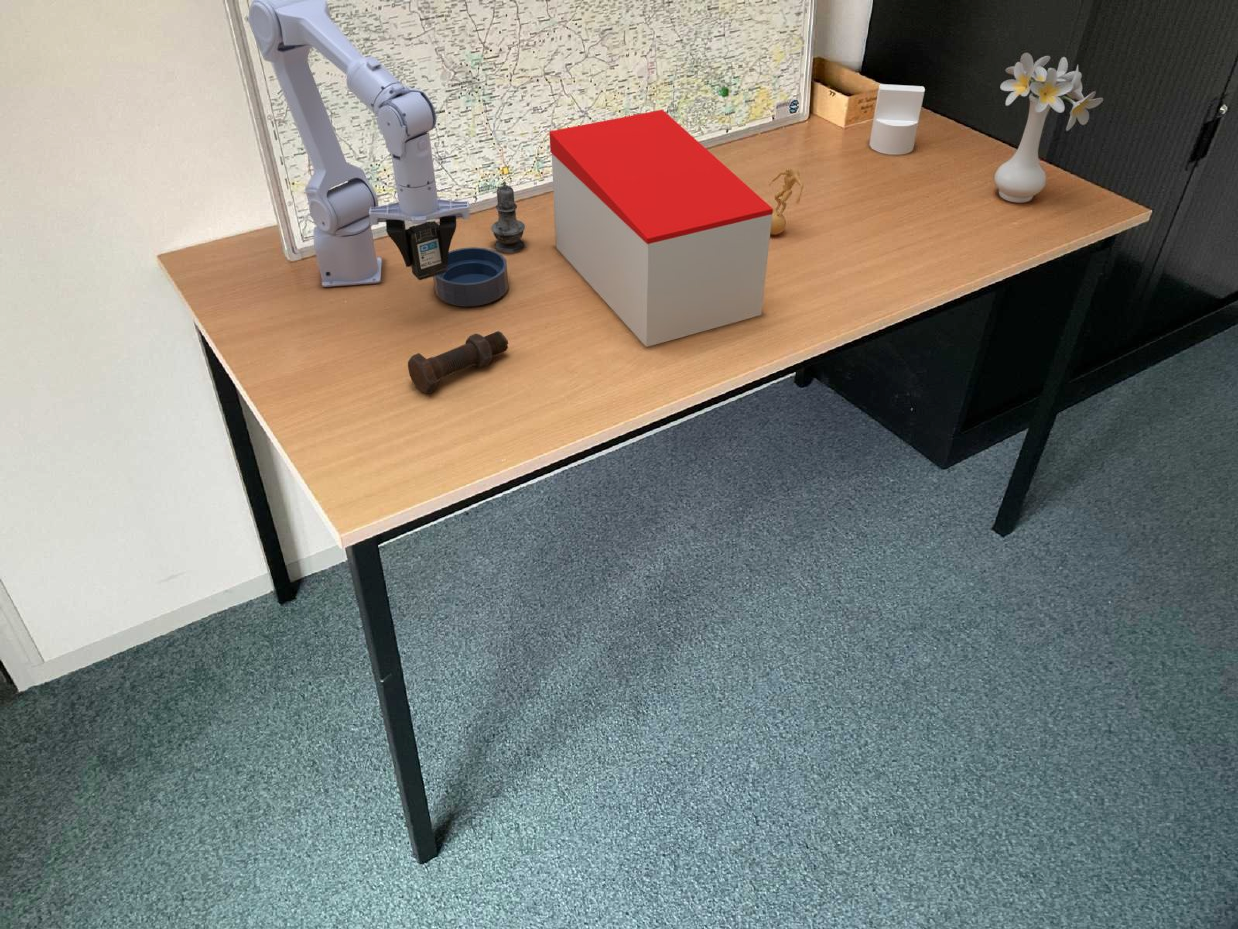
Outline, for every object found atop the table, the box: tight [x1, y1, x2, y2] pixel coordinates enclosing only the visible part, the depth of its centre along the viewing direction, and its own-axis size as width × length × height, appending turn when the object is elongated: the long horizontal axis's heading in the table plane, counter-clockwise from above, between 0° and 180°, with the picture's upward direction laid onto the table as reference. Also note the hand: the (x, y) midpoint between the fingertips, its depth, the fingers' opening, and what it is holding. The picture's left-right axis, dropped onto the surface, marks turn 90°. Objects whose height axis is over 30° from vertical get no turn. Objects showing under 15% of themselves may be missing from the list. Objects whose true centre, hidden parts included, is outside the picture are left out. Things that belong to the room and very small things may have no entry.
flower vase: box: [993, 52, 1104, 204], centre depth 182 cm, size 13×18×25 cm
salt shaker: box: [490, 181, 526, 254], centre depth 173 cm, size 6×6×12 cm
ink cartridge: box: [405, 220, 447, 281], centre depth 153 cm, size 5×2×8 cm, turn 123°
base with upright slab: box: [868, 83, 926, 156], centre depth 205 cm, size 9×9×12 cm
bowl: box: [432, 246, 509, 307], centre depth 164 cm, size 12×12×4 cm
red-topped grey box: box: [548, 109, 774, 348], centre depth 161 cm, size 21×35×21 cm, turn 26°
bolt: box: [407, 330, 509, 395], centre depth 147 cm, size 6×5×15 cm
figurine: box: [768, 167, 804, 236], centre depth 176 cm, size 8×6×12 cm
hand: (427, 262), depth 154 cm, fingers closed on ink cartridge, 5 cm apart
